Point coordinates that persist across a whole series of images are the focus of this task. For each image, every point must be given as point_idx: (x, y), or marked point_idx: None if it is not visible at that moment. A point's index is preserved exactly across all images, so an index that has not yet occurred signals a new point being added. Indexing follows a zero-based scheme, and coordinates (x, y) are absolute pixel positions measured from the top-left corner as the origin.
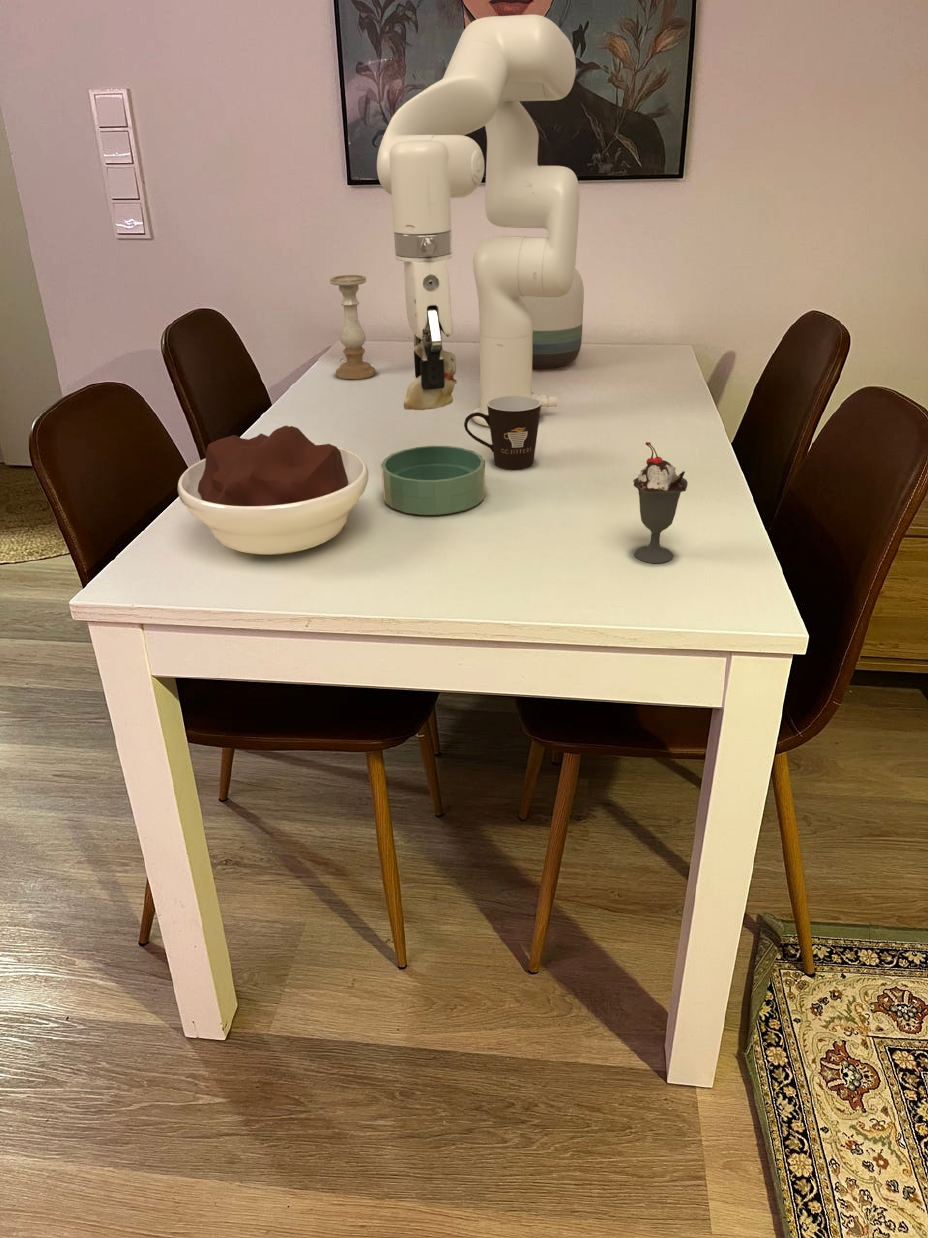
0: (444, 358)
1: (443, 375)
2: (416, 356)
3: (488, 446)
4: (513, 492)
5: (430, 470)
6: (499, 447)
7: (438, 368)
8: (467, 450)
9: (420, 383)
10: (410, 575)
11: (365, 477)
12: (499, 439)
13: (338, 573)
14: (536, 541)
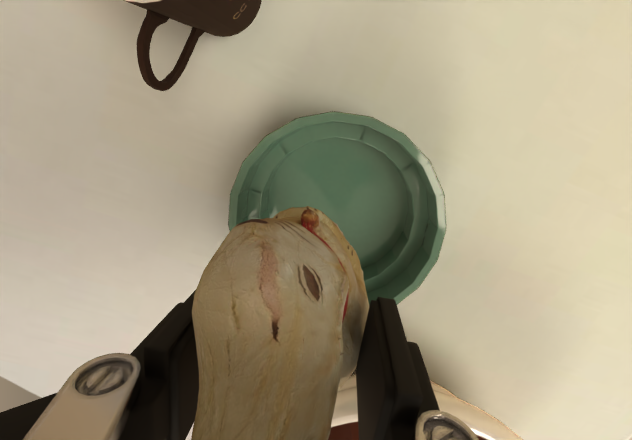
0: (341, 352)
1: (401, 331)
2: (188, 427)
3: (197, 39)
4: (375, 58)
5: (264, 196)
6: (228, 20)
7: (434, 397)
8: (288, 130)
9: (343, 381)
10: (594, 332)
11: (493, 429)
12: (221, 13)
13: (528, 401)
14: (611, 112)
